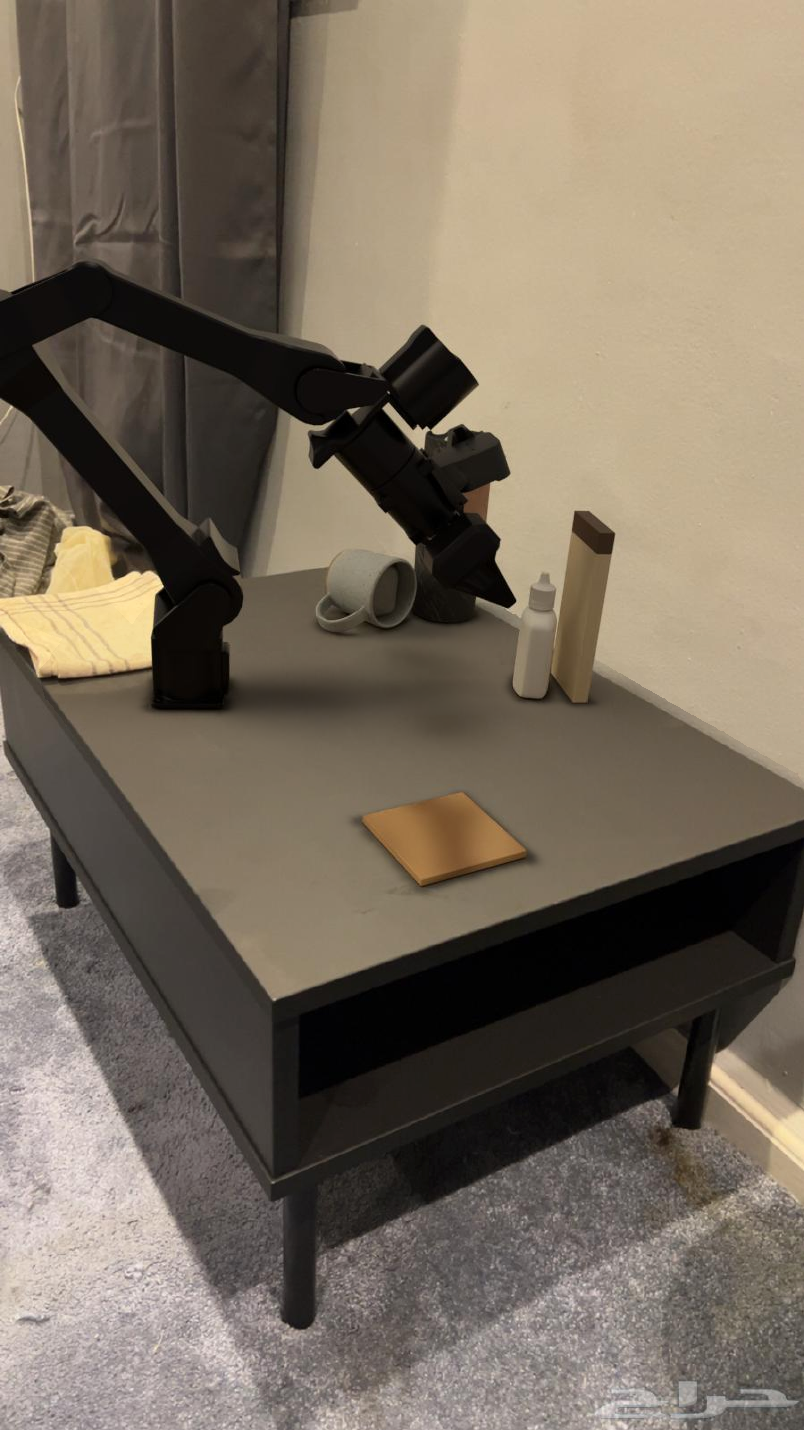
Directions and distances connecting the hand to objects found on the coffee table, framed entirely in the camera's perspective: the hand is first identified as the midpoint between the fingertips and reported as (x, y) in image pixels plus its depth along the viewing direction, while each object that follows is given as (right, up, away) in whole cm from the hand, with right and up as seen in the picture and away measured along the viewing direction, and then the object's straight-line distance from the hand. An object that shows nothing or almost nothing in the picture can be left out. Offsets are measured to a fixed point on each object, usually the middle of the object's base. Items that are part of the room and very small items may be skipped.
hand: (498, 586), depth 98 cm
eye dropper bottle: (+4, -9, +6) cm, 12 cm away
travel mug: (-4, 0, +23) cm, 23 cm away
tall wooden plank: (+8, -9, +6) cm, 14 cm away
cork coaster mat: (-6, -21, -20) cm, 30 cm away
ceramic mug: (-14, -2, +18) cm, 23 cm away
